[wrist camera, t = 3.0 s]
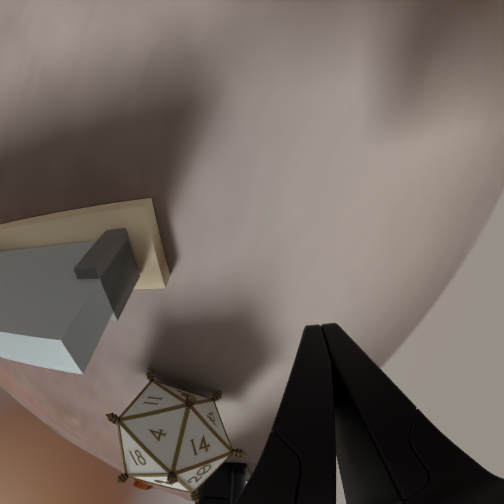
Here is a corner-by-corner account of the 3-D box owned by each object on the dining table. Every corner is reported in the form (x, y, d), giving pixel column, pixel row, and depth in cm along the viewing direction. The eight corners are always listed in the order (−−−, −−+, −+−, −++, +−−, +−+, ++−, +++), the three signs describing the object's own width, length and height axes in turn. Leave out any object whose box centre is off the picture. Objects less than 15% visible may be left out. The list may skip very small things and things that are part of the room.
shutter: (140, 276, 13) (89, 382, 8) (-11, 280, 14) (-61, 341, 8) (125, 228, 12) (53, 328, 7) (-26, 248, 12) (-82, 306, 7)
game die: (184, 335, 22) (191, 381, 12) (246, 415, 22) (288, 485, 12) (95, 392, 19) (56, 457, 10) (161, 464, 20) (163, 545, 10)
